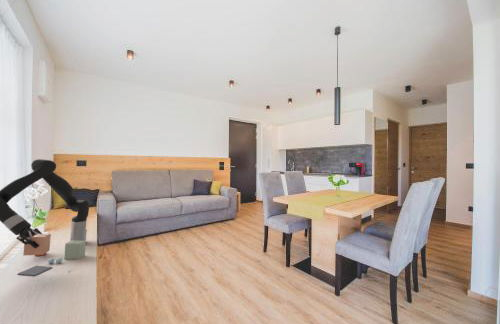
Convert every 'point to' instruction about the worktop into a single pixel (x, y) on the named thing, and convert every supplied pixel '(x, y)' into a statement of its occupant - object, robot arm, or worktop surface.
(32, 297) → the worktop surface
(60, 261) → the marble
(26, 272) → the felt coaster
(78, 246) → the sage green block
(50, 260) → the marble
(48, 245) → the salmon orange block
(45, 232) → the paper cup
